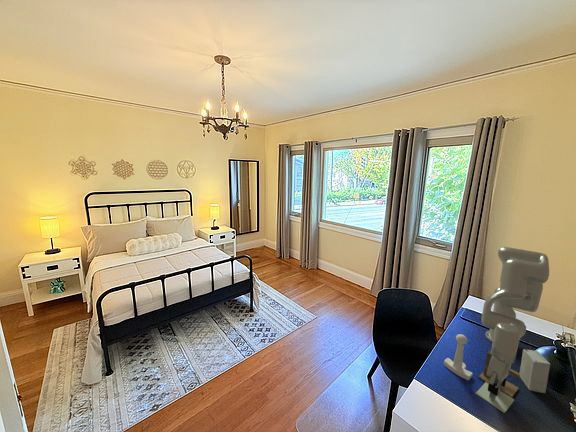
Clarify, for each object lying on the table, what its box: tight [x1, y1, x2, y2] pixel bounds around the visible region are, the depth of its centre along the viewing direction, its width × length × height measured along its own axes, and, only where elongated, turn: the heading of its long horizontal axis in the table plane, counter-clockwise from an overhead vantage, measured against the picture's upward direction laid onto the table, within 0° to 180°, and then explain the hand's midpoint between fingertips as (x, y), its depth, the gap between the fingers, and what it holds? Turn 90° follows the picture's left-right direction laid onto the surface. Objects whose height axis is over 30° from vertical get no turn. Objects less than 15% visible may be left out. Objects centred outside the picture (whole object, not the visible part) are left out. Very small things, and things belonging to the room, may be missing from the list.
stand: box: [478, 350, 520, 398], centre depth 109 cm, size 8×12×13 cm, turn 31°
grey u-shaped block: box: [489, 378, 503, 401], centre depth 103 cm, size 7×2×8 cm, turn 121°
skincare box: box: [518, 348, 551, 394], centre depth 108 cm, size 8×6×15 cm
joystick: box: [443, 333, 473, 381], centre depth 116 cm, size 11×8×20 cm
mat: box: [475, 381, 515, 414], centre depth 104 cm, size 10×10×1 cm
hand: (496, 388), depth 103 cm, fingers closed on grey u-shaped block, 7 cm apart
